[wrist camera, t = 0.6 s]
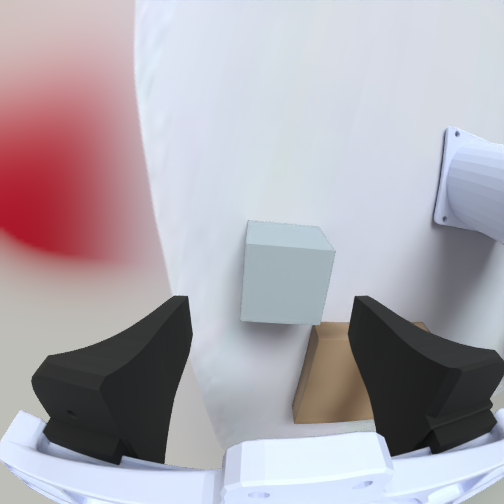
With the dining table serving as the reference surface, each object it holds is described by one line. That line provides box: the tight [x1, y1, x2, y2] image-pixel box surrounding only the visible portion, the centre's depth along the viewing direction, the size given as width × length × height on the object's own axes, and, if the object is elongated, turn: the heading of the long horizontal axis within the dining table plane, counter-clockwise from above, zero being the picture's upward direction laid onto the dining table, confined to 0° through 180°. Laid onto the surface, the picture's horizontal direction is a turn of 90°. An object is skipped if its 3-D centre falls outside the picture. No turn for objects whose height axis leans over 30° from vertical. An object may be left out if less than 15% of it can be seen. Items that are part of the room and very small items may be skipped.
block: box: [240, 220, 335, 325], centre depth 19 cm, size 5×5×5 cm
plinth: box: [292, 322, 430, 424], centre depth 24 cm, size 11×11×2 cm
